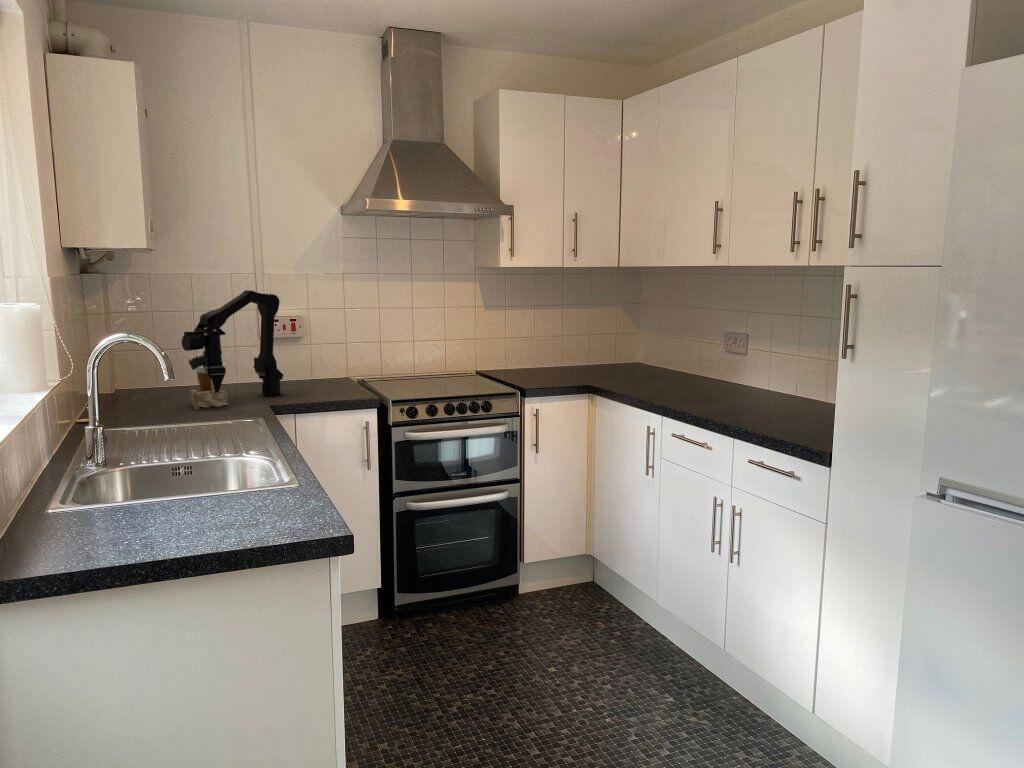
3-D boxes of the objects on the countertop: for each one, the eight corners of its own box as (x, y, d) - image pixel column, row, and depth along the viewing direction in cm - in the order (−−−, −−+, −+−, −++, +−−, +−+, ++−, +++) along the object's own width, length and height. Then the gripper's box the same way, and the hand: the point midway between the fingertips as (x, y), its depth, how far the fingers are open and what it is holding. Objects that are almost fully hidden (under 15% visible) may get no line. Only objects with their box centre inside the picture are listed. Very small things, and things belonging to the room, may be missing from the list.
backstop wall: (196, 402, 284) (195, 389, 283) (199, 409, 272) (198, 395, 271) (191, 403, 283) (190, 389, 282) (194, 409, 272) (193, 396, 271)
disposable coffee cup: (206, 399, 289) (203, 368, 287) (192, 396, 295) (190, 366, 293) (228, 396, 297) (226, 365, 294) (214, 393, 302) (212, 363, 300)
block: (225, 401, 286) (224, 389, 285) (227, 405, 279) (227, 393, 278) (196, 403, 282) (195, 392, 281) (198, 407, 275) (197, 395, 274)
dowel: (219, 399, 282) (217, 378, 281) (220, 400, 280) (218, 379, 279) (212, 400, 281) (209, 378, 280) (212, 401, 279) (210, 379, 278)
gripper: (187, 346, 282) (190, 387, 285) (190, 352, 265) (194, 396, 268) (218, 344, 287) (221, 385, 290) (224, 350, 270) (227, 393, 273)
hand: (215, 389), depth 280 cm, fingers open, 9 cm apart
